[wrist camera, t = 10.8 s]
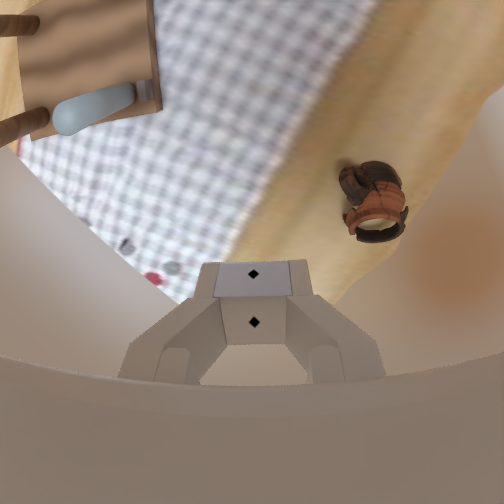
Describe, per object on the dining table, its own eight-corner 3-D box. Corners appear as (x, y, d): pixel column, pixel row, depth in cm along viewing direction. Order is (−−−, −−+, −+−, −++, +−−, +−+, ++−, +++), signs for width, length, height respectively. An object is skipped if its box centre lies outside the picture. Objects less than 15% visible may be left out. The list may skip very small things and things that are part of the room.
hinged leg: (109, 85, 29) (49, 105, 19) (133, 79, 29) (77, 96, 19) (113, 109, 31) (56, 139, 21) (137, 104, 31) (84, 132, 21)
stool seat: (27, 16, 25) (-56, 19, 11) (151, -33, 24) (88, -75, 10) (41, 136, 36) (-36, 179, 22) (162, 109, 35) (102, 141, 21)
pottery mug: (413, 180, 39) (424, 230, 36) (363, 206, 47) (368, 254, 43) (361, 133, 34) (371, 187, 30) (307, 170, 41) (308, 222, 37)
